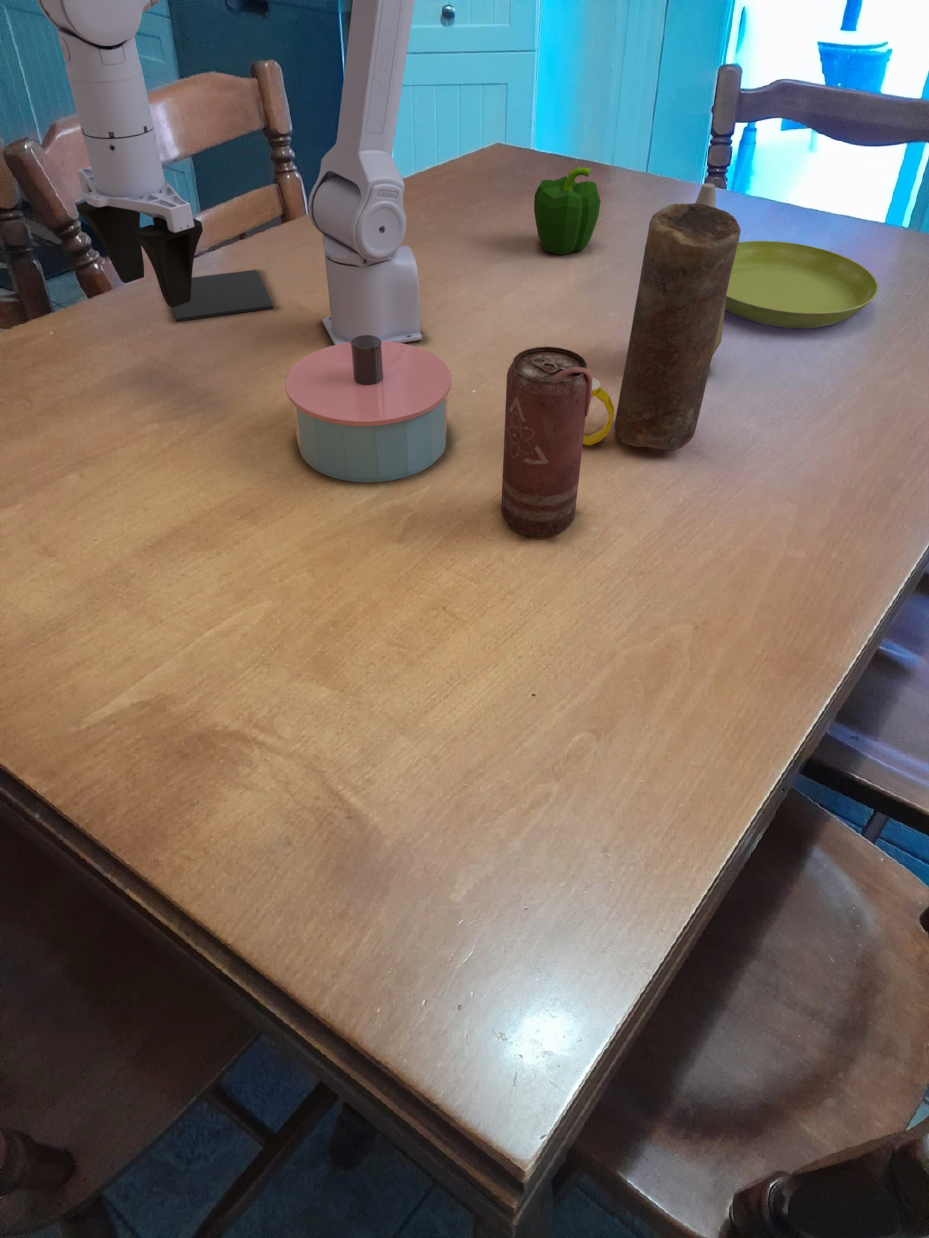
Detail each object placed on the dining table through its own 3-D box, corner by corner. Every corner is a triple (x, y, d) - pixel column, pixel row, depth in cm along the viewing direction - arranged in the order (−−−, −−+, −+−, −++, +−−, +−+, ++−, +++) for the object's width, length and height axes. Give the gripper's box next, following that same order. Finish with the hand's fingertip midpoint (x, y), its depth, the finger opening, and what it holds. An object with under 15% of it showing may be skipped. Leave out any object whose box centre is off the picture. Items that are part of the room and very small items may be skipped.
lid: (423, 342, 87) (422, 296, 84) (474, 416, 77) (475, 367, 74) (272, 364, 83) (265, 318, 80) (305, 445, 73) (298, 395, 70)
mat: (257, 272, 112) (256, 269, 112) (273, 308, 104) (272, 305, 104) (166, 284, 109) (165, 280, 109) (176, 321, 102) (175, 318, 101)
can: (573, 545, 72) (591, 387, 63) (495, 534, 73) (501, 377, 64) (581, 501, 77) (599, 347, 67) (507, 492, 78) (515, 339, 68)
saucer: (674, 320, 103) (679, 292, 101) (708, 256, 117) (713, 231, 115) (863, 352, 97) (873, 324, 95) (876, 281, 111) (884, 255, 109)
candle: (700, 427, 86) (747, 208, 72) (689, 467, 81) (736, 239, 67) (621, 413, 88) (652, 196, 74) (605, 451, 82) (635, 227, 69)
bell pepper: (519, 251, 118) (523, 169, 111) (548, 232, 123) (554, 153, 116) (577, 265, 114) (585, 181, 108) (604, 245, 120) (614, 164, 113)
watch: (542, 445, 83) (547, 386, 79) (546, 429, 85) (551, 371, 81) (607, 452, 82) (615, 393, 78) (610, 436, 84) (618, 378, 80)
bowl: (421, 395, 90) (419, 339, 86) (466, 466, 80) (466, 407, 76) (286, 417, 87) (278, 360, 83) (316, 494, 77) (309, 434, 73)
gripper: (28, 121, 75) (75, 281, 85) (123, 158, 68) (162, 329, 77) (104, 106, 79) (140, 260, 88) (201, 139, 72) (230, 304, 81)
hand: (155, 291), depth 83 cm, fingers open, 7 cm apart
